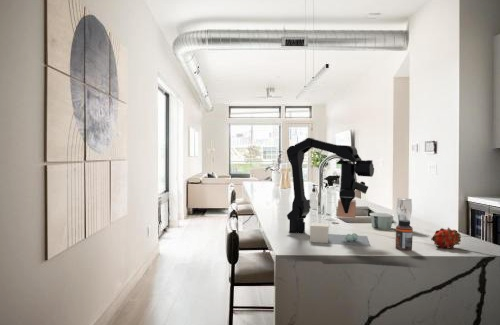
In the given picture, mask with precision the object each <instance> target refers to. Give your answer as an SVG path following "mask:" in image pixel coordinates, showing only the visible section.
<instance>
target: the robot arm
mask: <svg viewBox="0 0 500 325" xmlns="http://www.w3.org/2000/svg"><path fill="white" fill-rule="evenodd" d="M312 148H313V149H317V150H320V151H324V152H328V153H332V154H334V155H335V156H337V157H339V160H338V161H337V162H336V164H337V165H341V166H340V188H339V194H338V196H339V199H340V200H341V203H342V206H343V209H344V212H345V213H348V210H349V206H350V202H351V201H352V200H355V198H356V191H358V192H361V193H362V194H364V195H366V194H367V192H368V189H369V186H368V185H366V183H365V181H360V182H359V181H356V175H357V176H358V177H370V178H371V177H373V176H374V172H375V168H374V164H373V163H374V162H373V159H371V160H370V159H367V160H365V159H364V160H362V158H361V157H360V155H359V154H358V150H357V147H356V146H353V145H341V144H335V143H331V142H327V141H323V140H318V139H315V138H313V137H306V138H305V139H303V140H302V141H300V142H298V143H295V144H294V145H290V146H289V147H288V148H287V149H286V156H287V159H288V162H289V163H290V165H291V174H292V175H291V176H292V183H293V185H292V186H293V196H294V197H293V201H292V202H291V203H292V204H291V205H292V206H291V210H290V212H289V213H287V214H286V217H287V220H289V226H288V228H289V231H288V234H304V233H305V232H306V221H305V219H306V217H307V215H308V214H309V213H310V211H311V208H312V207H311V200H310V199H307V197H306V195H305V184H304V175H303V174H304V173H303V171H304V170H303V163H304V160H305V154H306V153H307V152H309V151H310V150H311V149H312Z"/></svg>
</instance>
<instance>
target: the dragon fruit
mask: <svg viewBox="0 0 500 325" xmlns="http://www.w3.org/2000/svg"><path fill="white" fill-rule="evenodd" d="M461 236H462V234H460V233H459V232H458V230H456V229H451V228H450V227H447V229H445V228H443V227H442V228H440V229H439V230H436V231H435V232H434V235H433V236H432V237H431V241H433V244H434V245H435V247H437V248H441V249H442V248H447V249H453V248H455V246H456V245H459V246H460V243H461V242H462V241H461V240H462V239H461V238H462V237H461Z"/></svg>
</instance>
